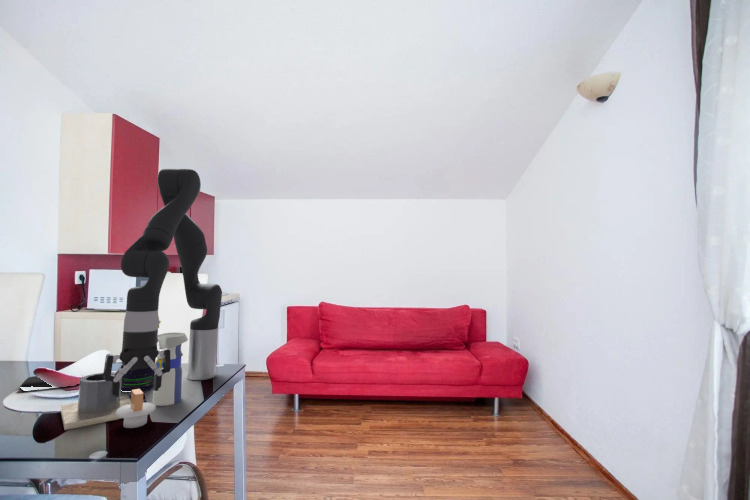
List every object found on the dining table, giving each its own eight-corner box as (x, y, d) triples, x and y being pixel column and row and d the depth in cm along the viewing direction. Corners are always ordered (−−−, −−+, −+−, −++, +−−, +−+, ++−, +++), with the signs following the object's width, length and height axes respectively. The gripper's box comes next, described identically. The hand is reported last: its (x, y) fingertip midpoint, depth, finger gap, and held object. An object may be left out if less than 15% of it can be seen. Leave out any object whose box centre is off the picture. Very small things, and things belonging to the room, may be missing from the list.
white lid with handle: (118, 434, 89) (120, 399, 90) (112, 422, 96) (114, 390, 96) (158, 425, 95) (160, 392, 95) (150, 414, 101) (152, 384, 102)
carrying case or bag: (82, 378, 130) (25, 384, 122) (83, 369, 130) (26, 375, 122) (79, 387, 121) (17, 394, 113) (80, 377, 121) (18, 384, 113)
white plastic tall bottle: (169, 407, 106) (175, 318, 108) (143, 404, 108) (149, 316, 109) (189, 398, 114) (194, 314, 116) (165, 395, 116) (170, 313, 117)
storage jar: (161, 384, 126) (164, 338, 127) (142, 394, 116) (145, 344, 117) (132, 382, 127) (135, 337, 127) (111, 392, 117) (114, 343, 117)
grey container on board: (60, 411, 101) (63, 375, 102) (126, 399, 111) (128, 366, 112) (64, 430, 90) (67, 389, 91) (137, 415, 100) (139, 379, 101)
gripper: (168, 324, 104) (164, 384, 103) (104, 328, 94) (99, 394, 93) (175, 328, 98) (171, 392, 98) (109, 332, 89) (104, 403, 88)
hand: (136, 393), depth 95 cm, fingers open, 8 cm apart
